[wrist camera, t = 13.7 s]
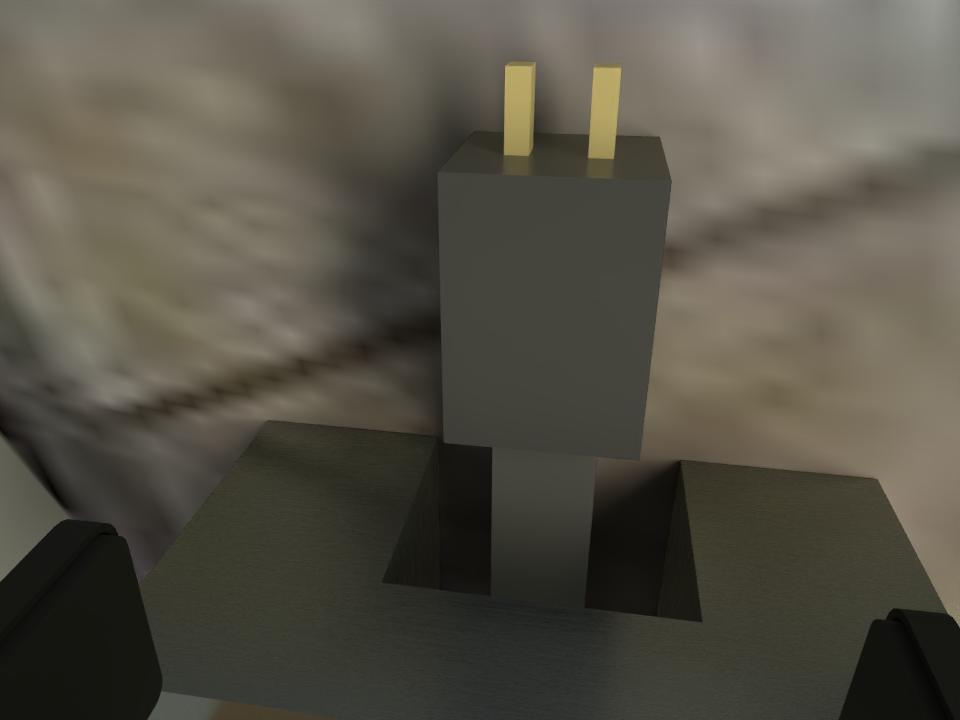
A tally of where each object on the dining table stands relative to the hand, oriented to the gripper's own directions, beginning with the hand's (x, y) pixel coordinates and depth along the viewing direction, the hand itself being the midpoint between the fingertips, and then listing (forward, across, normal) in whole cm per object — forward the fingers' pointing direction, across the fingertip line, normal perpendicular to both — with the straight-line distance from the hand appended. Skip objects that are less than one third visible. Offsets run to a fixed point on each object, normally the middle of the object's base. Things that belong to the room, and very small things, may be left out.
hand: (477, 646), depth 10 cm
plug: (+14, 0, +6) cm, 16 cm away
